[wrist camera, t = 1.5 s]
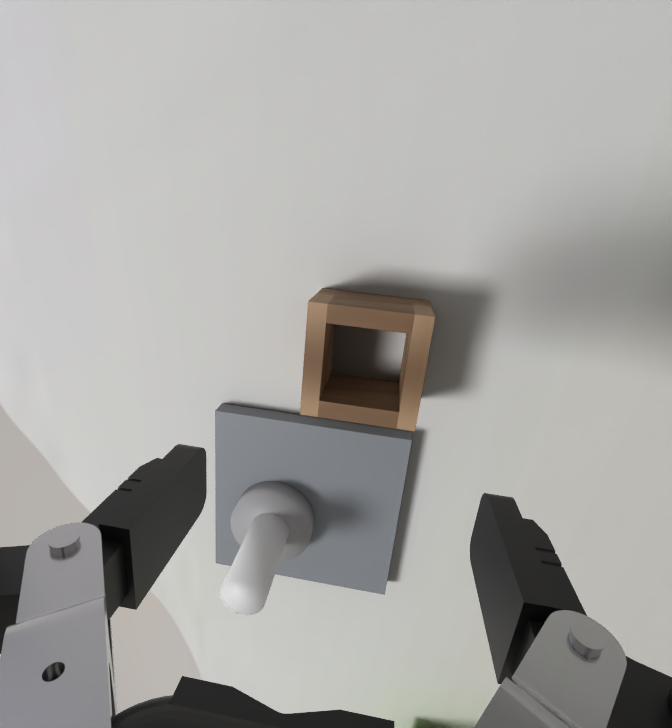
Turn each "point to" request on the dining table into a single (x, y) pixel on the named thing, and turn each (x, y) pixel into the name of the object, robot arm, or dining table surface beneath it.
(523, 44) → the dining table surface
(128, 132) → the dining table surface
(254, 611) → the post stand
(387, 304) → the wooden square frame
